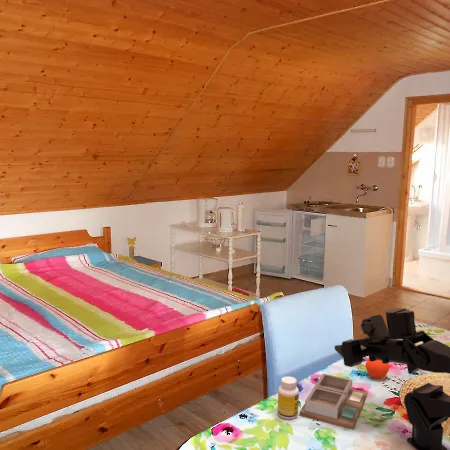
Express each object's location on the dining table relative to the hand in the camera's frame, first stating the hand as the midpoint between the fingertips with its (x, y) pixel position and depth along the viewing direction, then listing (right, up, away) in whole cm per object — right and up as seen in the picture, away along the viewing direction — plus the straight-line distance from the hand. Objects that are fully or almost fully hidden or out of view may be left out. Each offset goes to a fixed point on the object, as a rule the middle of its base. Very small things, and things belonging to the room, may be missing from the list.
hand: (346, 344), depth 131 cm
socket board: (-4, -17, -1) cm, 17 cm away
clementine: (+13, -14, +17) cm, 25 cm away
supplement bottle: (-17, -17, -5) cm, 25 cm away
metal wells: (-5, -15, 0) cm, 16 cm away
